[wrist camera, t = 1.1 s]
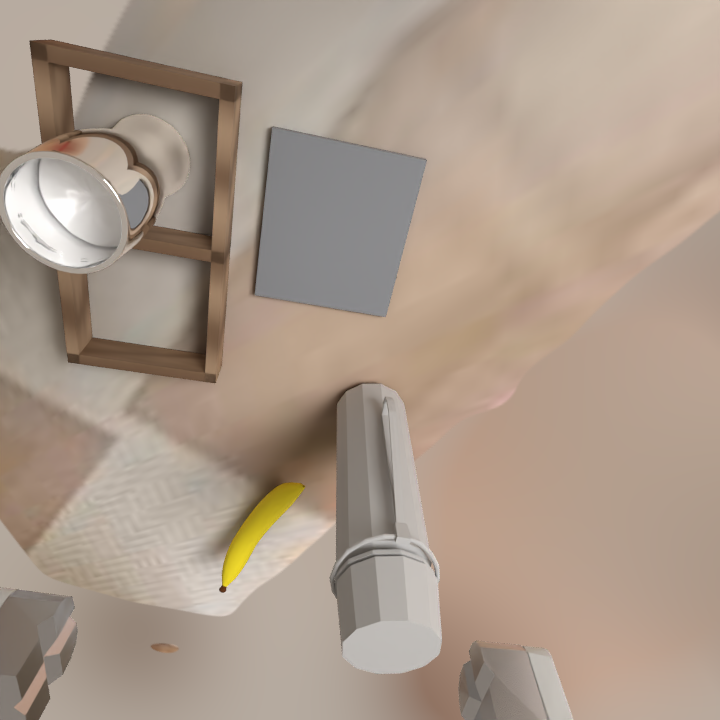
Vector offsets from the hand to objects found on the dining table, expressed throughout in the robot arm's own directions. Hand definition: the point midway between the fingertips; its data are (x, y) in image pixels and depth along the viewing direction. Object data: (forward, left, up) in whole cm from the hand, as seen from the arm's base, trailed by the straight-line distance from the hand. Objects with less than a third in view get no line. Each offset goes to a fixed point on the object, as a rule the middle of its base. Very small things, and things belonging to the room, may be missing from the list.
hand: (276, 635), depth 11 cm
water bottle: (+21, +9, -37) cm, 43 cm away
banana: (+38, -1, -37) cm, 53 cm away
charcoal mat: (+4, +2, -37) cm, 37 cm away
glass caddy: (+7, -13, -37) cm, 39 cm away
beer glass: (+1, -13, -37) cm, 39 cm away
